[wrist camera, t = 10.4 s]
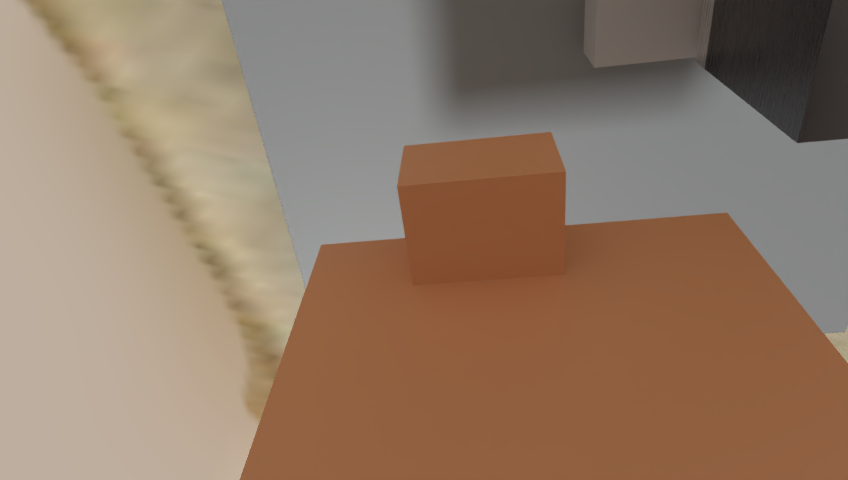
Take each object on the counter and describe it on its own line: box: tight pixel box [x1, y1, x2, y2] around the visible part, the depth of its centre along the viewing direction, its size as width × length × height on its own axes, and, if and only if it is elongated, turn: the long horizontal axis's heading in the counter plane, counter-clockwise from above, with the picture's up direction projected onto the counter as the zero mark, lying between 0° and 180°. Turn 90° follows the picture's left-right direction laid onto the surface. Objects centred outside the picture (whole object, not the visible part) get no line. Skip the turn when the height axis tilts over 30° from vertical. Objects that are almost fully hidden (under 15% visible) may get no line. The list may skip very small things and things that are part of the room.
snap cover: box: [240, 132, 848, 480], centre depth 8 cm, size 6×8×5 cm
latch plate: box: [222, 0, 848, 333], centre depth 14 cm, size 16×13×2 cm
